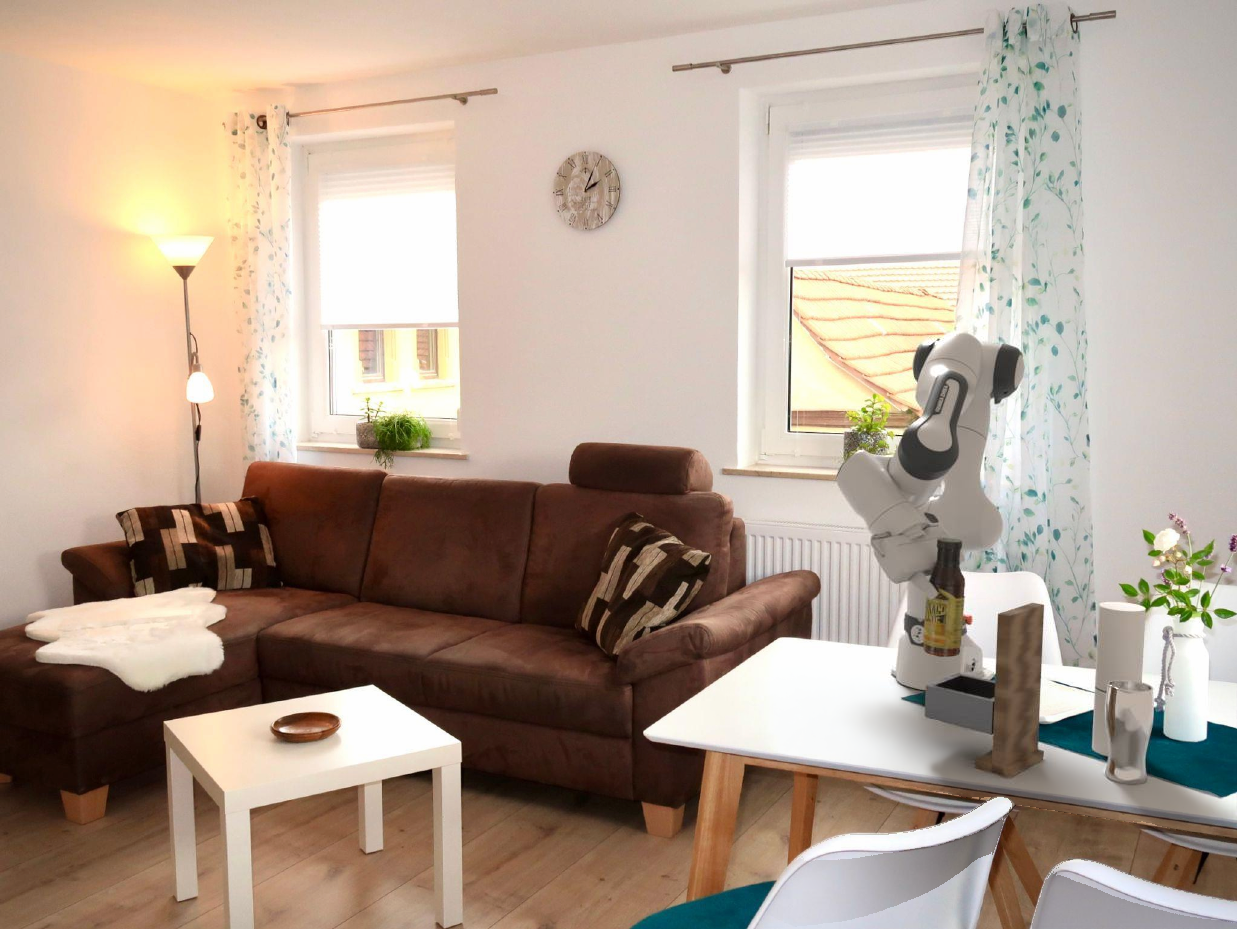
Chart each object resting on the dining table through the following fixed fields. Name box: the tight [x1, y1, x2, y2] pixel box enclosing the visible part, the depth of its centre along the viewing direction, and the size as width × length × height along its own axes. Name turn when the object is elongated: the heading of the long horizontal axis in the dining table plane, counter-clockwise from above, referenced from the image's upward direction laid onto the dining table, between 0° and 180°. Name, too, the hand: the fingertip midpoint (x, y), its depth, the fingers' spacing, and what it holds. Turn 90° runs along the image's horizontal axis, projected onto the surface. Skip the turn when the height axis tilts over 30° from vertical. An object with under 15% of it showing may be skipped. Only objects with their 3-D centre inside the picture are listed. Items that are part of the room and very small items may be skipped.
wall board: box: [973, 602, 1045, 779], centre depth 175 cm, size 12×6×26 cm, turn 134°
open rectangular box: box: [924, 673, 995, 736], centre depth 180 cm, size 11×12×6 cm
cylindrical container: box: [1091, 601, 1147, 757], centre depth 182 cm, size 7×7×25 cm
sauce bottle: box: [923, 538, 966, 657], centre depth 183 cm, size 6×6×20 cm
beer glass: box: [1104, 680, 1155, 786], centre depth 170 cm, size 7×7×15 cm
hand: (948, 593), depth 182 cm, fingers closed on sauce bottle, 6 cm apart
